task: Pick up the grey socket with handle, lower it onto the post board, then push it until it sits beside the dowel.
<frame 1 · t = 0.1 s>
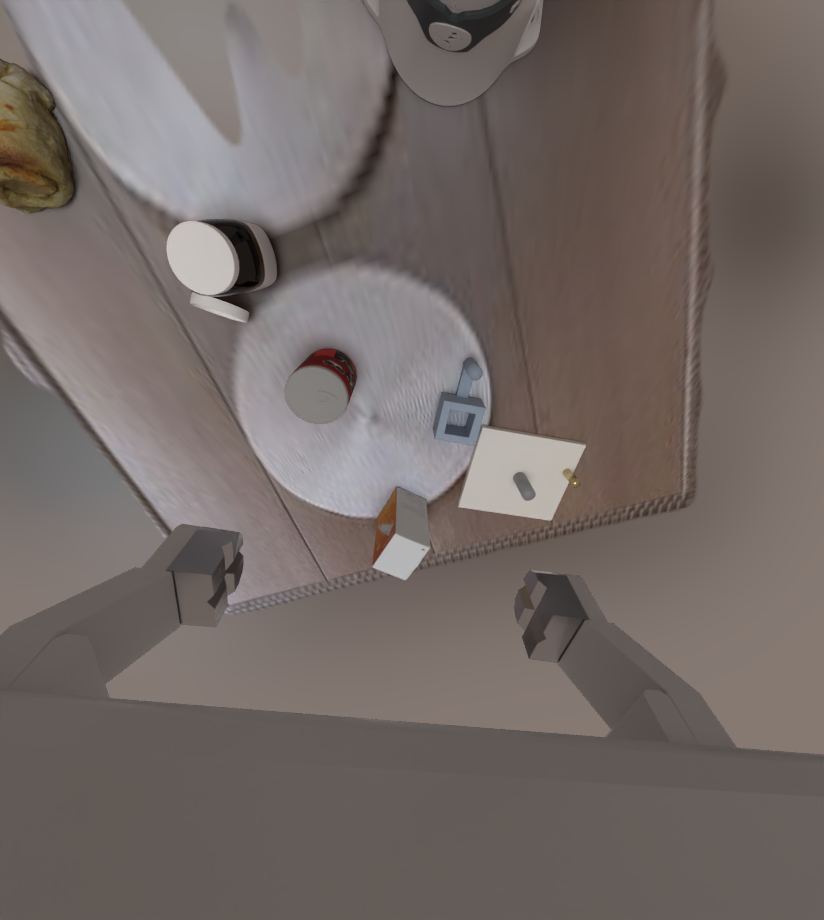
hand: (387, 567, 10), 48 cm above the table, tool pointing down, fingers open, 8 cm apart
canned food: (331, 372, 56), on the table
small box: (401, 507, 68), on the table
dowel: (563, 468, 65), resting on post board
pastry: (28, 147, 43), on the table
post board: (517, 473, 65), on the table
grey socket with handle: (469, 364, 56), on the table
spread jar: (241, 275, 50), on the table
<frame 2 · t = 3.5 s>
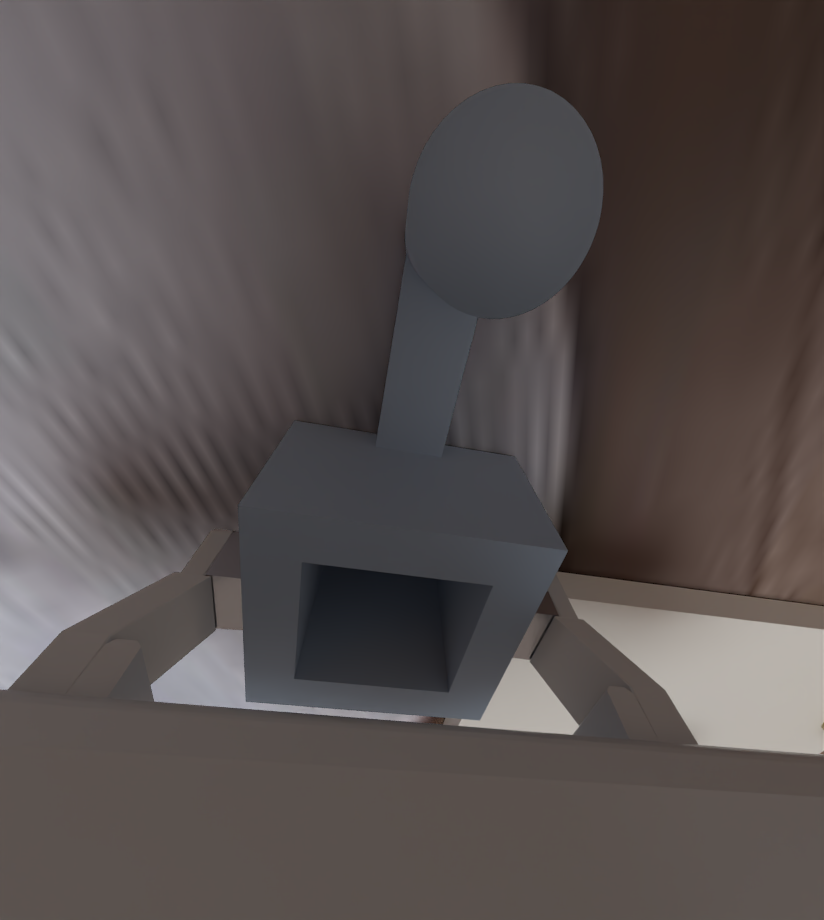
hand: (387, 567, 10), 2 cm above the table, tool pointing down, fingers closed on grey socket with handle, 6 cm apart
dowel: (812, 694, 17), resting on post board
post board: (636, 709, 18), on the table
grey socket with handle: (449, 239, 8), on the table, touching gripper
when the fingers open (4 cm above the table, at t = 9.1 s): grey socket with handle drops 1 cm, resting on post board.
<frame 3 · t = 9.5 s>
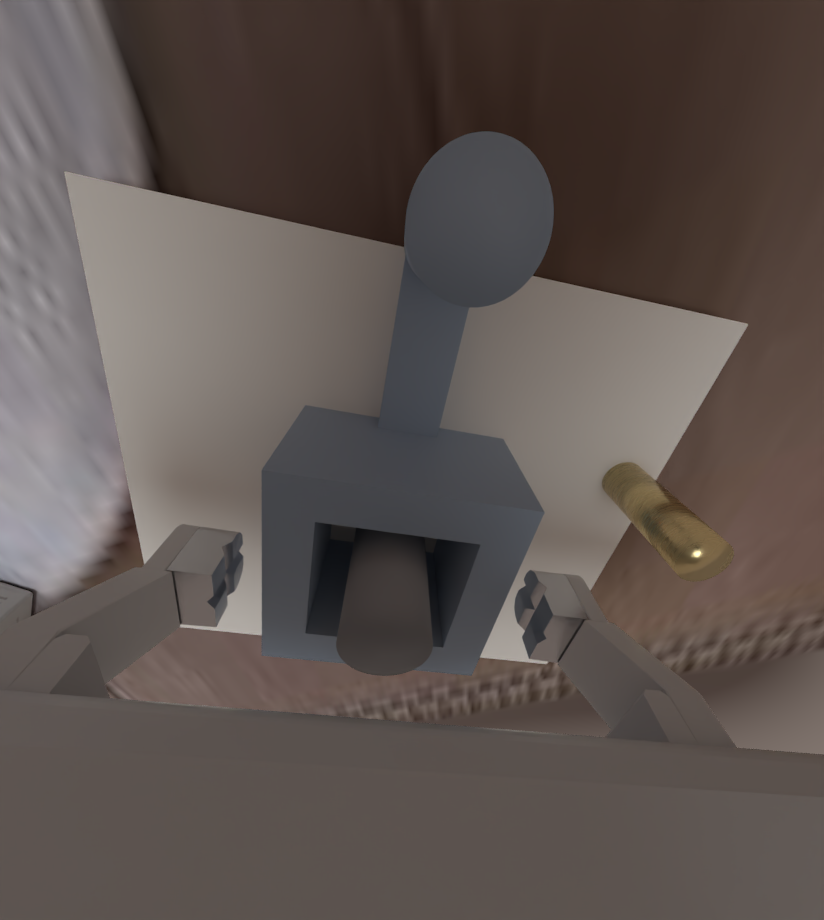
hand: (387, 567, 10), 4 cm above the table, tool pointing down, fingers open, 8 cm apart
dowel: (605, 463, 14), resting on post board
post board: (392, 487, 14), on the table
grey socket with handle: (443, 243, 9), point 1 cm above the table, touching post board
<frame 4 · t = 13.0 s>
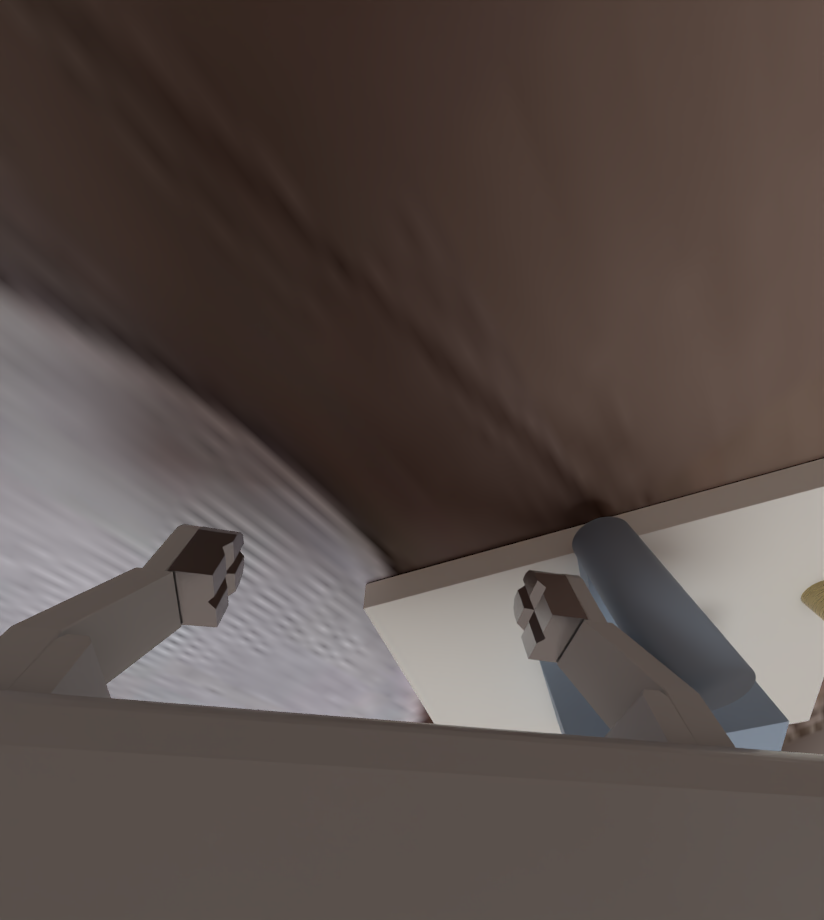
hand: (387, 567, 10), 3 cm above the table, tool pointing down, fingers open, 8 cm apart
dowel: (791, 569, 15), resting on post board
post board: (606, 648, 17), on the table
grey socket with handle: (601, 539, 13), point 1 cm above the table, touching gripper, post board
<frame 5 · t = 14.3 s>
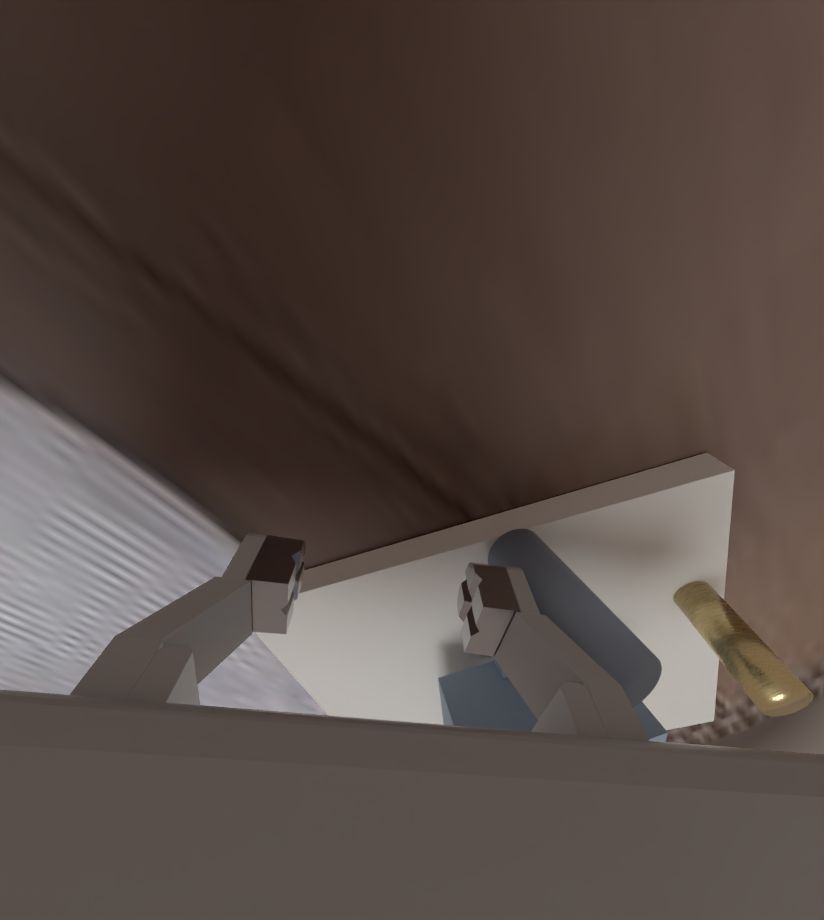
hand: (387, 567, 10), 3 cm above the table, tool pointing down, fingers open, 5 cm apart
dowel: (672, 570, 15), resting on post board
post board: (502, 649, 18), on the table
grey socket with handle: (514, 553, 13), point 1 cm above the table, tilted 14°, touching gripper, post board
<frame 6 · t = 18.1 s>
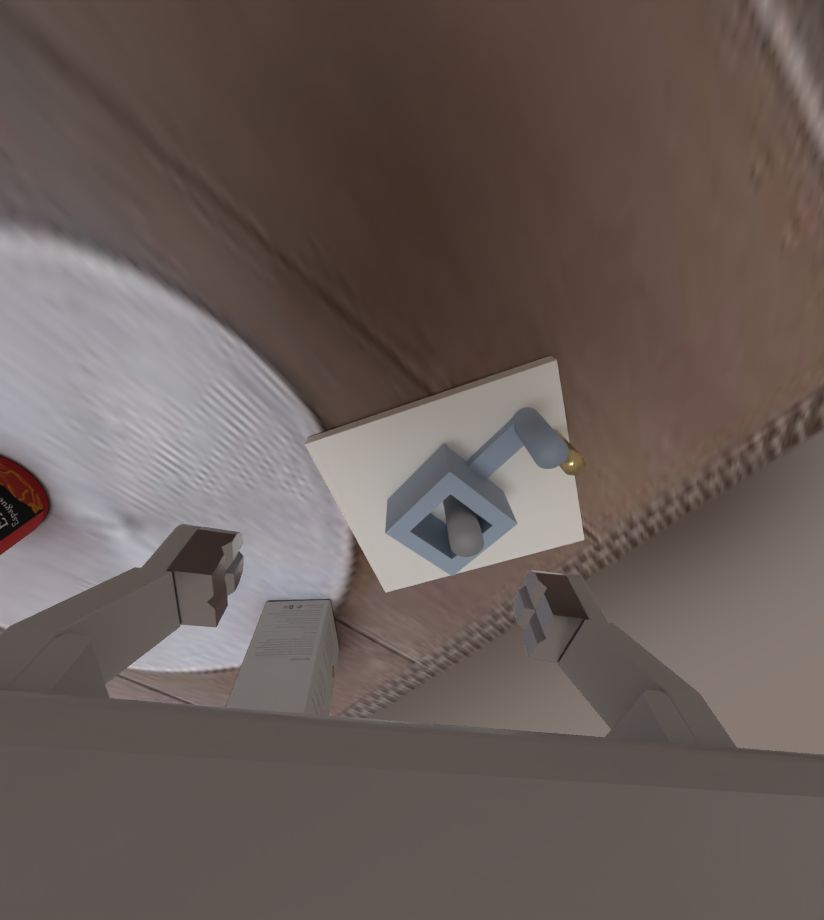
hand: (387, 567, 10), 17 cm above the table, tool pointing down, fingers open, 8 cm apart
canned food: (0, 489, 29), on the table
small box: (305, 624, 38), on the table
dowel: (545, 431, 27), resting on post board
post board: (454, 487, 30), on the table
grey socket with handle: (525, 420, 26), point 1 cm above the table, touching post board
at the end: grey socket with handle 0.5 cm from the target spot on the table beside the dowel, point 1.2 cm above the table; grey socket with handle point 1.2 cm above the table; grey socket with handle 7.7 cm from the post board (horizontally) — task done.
